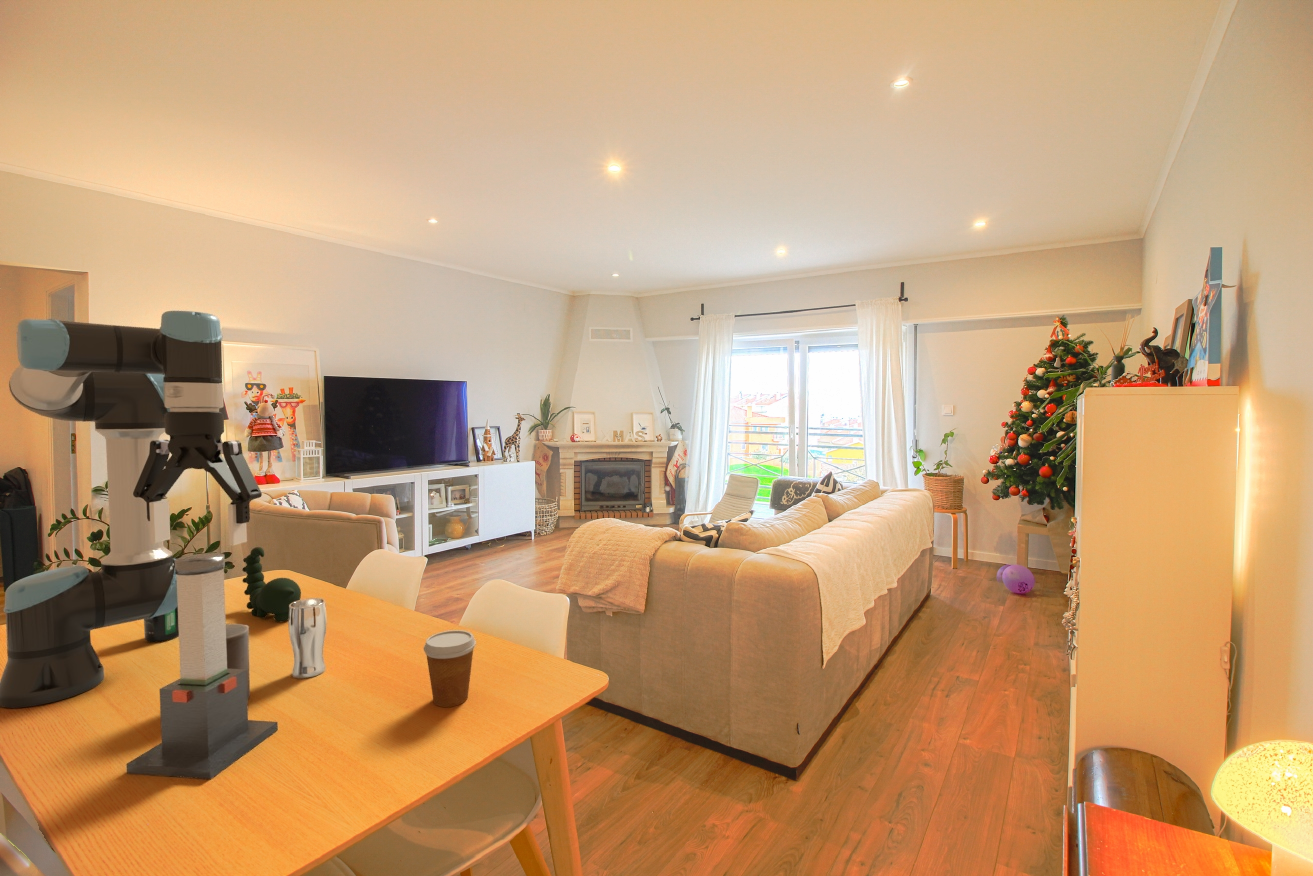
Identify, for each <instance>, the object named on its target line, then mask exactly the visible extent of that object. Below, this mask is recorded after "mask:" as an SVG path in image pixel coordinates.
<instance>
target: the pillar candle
mask: <svg viewBox="0 0 1313 876" xmlns="http://www.w3.org/2000/svg"><path fill="white" fill-rule="evenodd" d="M249 628H250V626H249V625H247V624H241V623H230V624H226V650H227V668H228V669H246V676H247V701H248V700H249V699H250V697H251V696H250V694H251V693H250V692H251V691H250V690H251V689H250V687H251V686H250V681H251V680H250V646H249V645H250V641H249V640H250V638H249V635H250V633H249V631H250V629H249ZM249 696H250V697H249Z"/></svg>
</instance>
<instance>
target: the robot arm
mask: <svg viewBox="0 0 1313 876" xmlns="http://www.w3.org/2000/svg"><path fill="white" fill-rule="evenodd" d="M160 317H161V318H160V327H159V328H156V327H154V328H153V327H145V326H144V327H143V326H142V327H141V326H132V325H131V326H129V325H128V326H126V325H116V324H115V325H114V324H103V323H91V322H90V323H89V322H79V321H68V320H67V321H66V320H58V319H55V318H48V319H47V318H46V319H43V318H42V319H38V318H37V319H36V318H35V319H33V318H32V319H31V318H26V319H22V320H20V321H19V322H18V324H17V327H16V328H17V331H16V347H17V348H16V350H17V359H18V362H19V364H20V365H19V366H18V367H17V368H15V369H14V371H13V372H12V373H11V376H10V378H9V381H8V388H9V392H10V395H11V396H12V397H13V399H14V401H16V402H17V404H19V405H21V406H22V407H23V408H25V409H26V410H29V411H30V412H33V413H34V414H37V415H39V416H43V417H46V418H50V419H54V420H59V421H66V422H86V423H87V422H92V423H94V427H95V428H94V429H95V432H97V433H99V434H100V435H101V436H103V438H104V439H105V448H106V453H105V454H106V471H107V473H106V474H107V475H106V476H107V493H108V494H107V495H108V496H107V497H108V498H107V499H108V516H109V518H108V519H109V520H108V521H109V522H108V523H109V544H110V546H109V548H110V551H109V553H108V554H107V555H106V556H105V557H103V559H102V560H101V562H100V564H101V567H100V568H101V569H100V570H97V571H90V570H89V569H88V568H87V567H86V566H83V565H73V566H70V567H69V566H65V567H59V568H54V569H50V570H45V571H42V572H39V573H35V574H32V575H29V576H26V577H23V578H21V579H19V580H17V581H14V582H13V583H12V584H10V585H9V586H8V587H7V588H6V590H5V593H4V607H3V609H2V610H3V612H4V613H5V626H6V629H5V631H6V654H7V661H6V664H5V667H4V670H3V672H2V675H1V678H0V707H1V708H5V709H18V708H28V707H34V706H41V705H48V704H50V703H55V702H59V701H62V700H66V699H69V698H72V697H75V696H78V695H80V694H83V693H85V692H87V691H90V690H92V689H93V688H96V687H97V686H98V685H100V684H101V683H102V682H103V681H104V679H105V671H104V670H105V668H104V665H103V664H102V663H101V661H100V658H99V656H98V654H97V652H96V651H95V649H94V647H93V645H92V638H91V631H92V630H97V629H101V628H102V629H103V628H107V627H112V626H116V625H121V624H125V623H130V622H131V623H132V622H135V621H141V620H144V619H151V618H153V617H155V616H159V615H163V614H167V613H170V612H172V611H173V610H174V609H175V608H176V607H177V606H178V600H177V574H175V560H176V559H177V558H173V557H174V555H173V551H171V550H169V549H168V548H167V547H165V546H164V542H166V541H169V540H171V522H170V521H171V520H170V518H171V517H170V516H171V515H170V499H168V497H167V494H168V493H169V491H170V490H171V488H172V487H173V486H174V484H175V483H176V482H177V481H178V479H179V478H180V477H181V476H182V474H183V473H184V472H185V471H186V470H190V469H194V470H204V471H205V472H207V473H209V474H210V475H211V476H212V478H214V480H215V481H216V482H217V483H218V485H219V486H220V487H221V489H222V490H223V491H224V492H225V494H226V495H227V496H228V498H229V499H230V500H231V502H230V503H228V504H227V513H228V514H227V516H228V545H229V546H237V545H240V544H245V543H247V542H248V535H247V534H248V533H247V532H248V531H247V529H248V527H247V523H249V522H250V519H251V515H250V514H251V513H250V512H251V511H250V510H251V508H250V502H251V501H253V500H255V499H259V498H261V497H262V496H263V494H262V491H261V489H260V487H259V485H258V482H257V481H256V478H255V476H254V474H253V473H252V470H251V469H250V467H249V466H250V465H248V462H247V461H246V458H245V457H244V454H243V447H242V442H241V441H240V440H227V441H226V440H225V441H222V435H223V434H224V433H225V420H224V419H225V418H224V417H225V415H224V413H223V412H222V411H220V409H222V408H224V407H225V406H224V405H225V404H224V389H223V388H224V387H223V355H222V351H223V350H222V347H223V346H222V341H223V334H222V330H221V320H220V319H219V318H218V316H216V315H215V314H211V313H208V312H201V311H192V310H168V311H164V312H163V313H162V314H161V316H160ZM164 433H165V434H166V435H167V436H169V439H160V437H161V436H162V435H164ZM170 455H171V456H170Z"/></svg>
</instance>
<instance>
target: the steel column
mask: <svg viewBox="0 0 1313 876" xmlns="http://www.w3.org/2000/svg"><path fill="white" fill-rule="evenodd" d="M225 556H226V555H225V553H221V552H207V553H206V552H205V553H204V552H203V553H197V554H196V553H195V554H191V555H185V556H182V557H179V558H175V559H176V560H175V574H177V600H178V626H179V636H178V646H179V647H178V648H179V672H180V678H179V679H180V685H184V686H202V687H206V686H208V685H210V684H211V683H213V682H215V681H217V680H219V679H221V678H222V677H224V676H226V675H227V674H228V668H227V650H226V621H227V620H226V597H225V595H226V593H225V567H226V561H225V560H226V559H225Z"/></svg>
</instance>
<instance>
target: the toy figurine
mask: <svg viewBox="0 0 1313 876" xmlns="http://www.w3.org/2000/svg"><path fill="white" fill-rule="evenodd" d="M264 557H265V550H264V548H263V547H259V546H256V547H253V548H252V549H251V550H250V554H248V555H247V556H246V557H244V558H243V560H242V562H244V563H245V564H246V565H245V566H244V567H242V572H243V573H246V574H247V575H246V577H244V578H242V580H241V581H242V583H244V584H245V583H246V584H247V586H246V589H245V590H244V592H243V593H244V595H245V596H249V598H248V599H249V601H248V602H247V603H246V608H247V609H248V610H251V612H250V613H251V615H252V616H253V617H256V616H257V617H258V618H259V619H263V618H266V617H267V616H268V615H269V614H270V615H273V620H274V621H275V622H277V623H283V622H286V621H289V605H290V604H291V603H293V602H295V601H298V600H301V599H302V597H301V596H302V591H301V587H300V586H299V584H298V583H297V582H296V581H295V580H293V579H291V578H289V577H288V578H287V577H276V578H274V579H271V580H270V581H268V582H265V581H264V580H265V575H264V573H263V572H262V570H263V565H262V564H261V558H264Z"/></svg>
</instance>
